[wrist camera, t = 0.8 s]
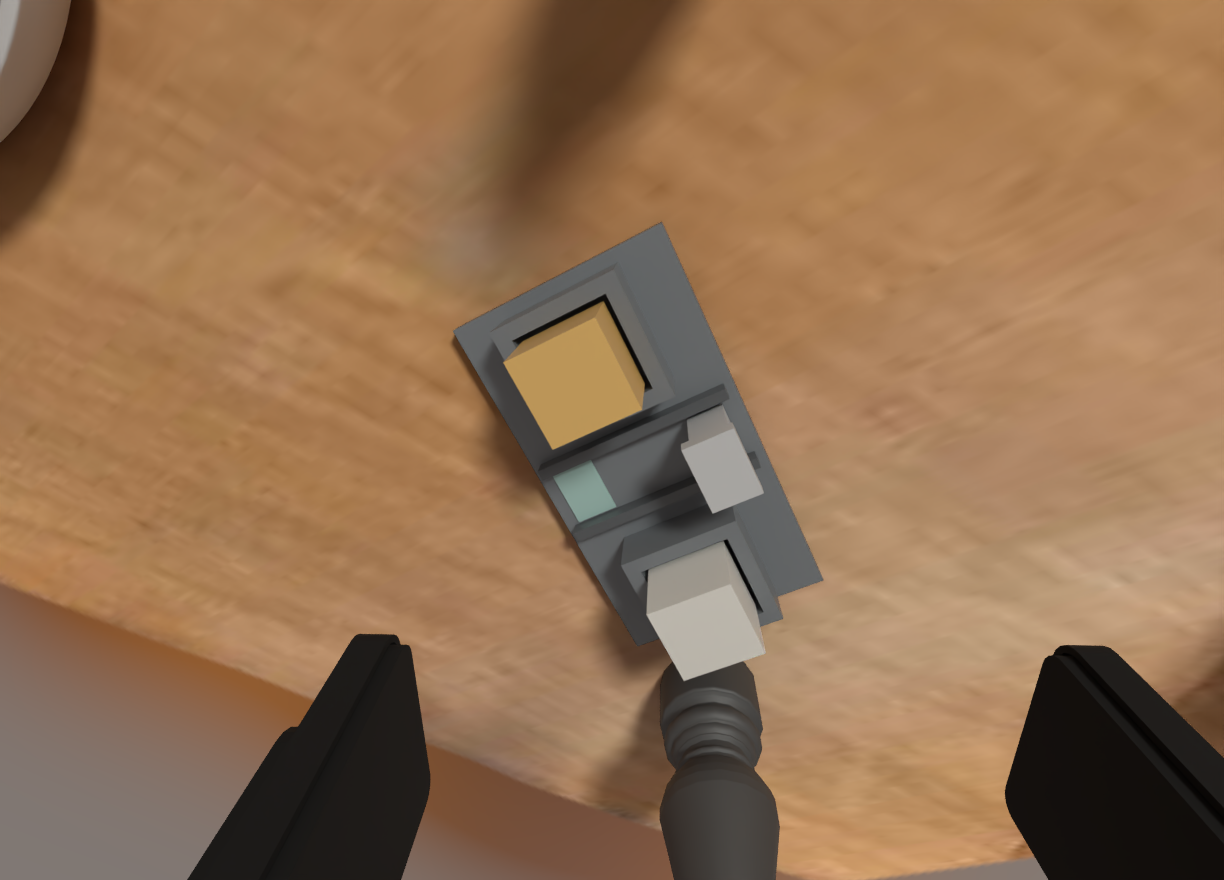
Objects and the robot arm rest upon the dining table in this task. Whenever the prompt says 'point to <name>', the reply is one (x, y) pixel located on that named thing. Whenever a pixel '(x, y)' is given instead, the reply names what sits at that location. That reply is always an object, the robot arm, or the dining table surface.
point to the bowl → (27, 53)
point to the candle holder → (716, 778)
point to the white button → (703, 612)
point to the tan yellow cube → (577, 376)
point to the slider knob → (719, 460)
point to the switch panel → (644, 434)
